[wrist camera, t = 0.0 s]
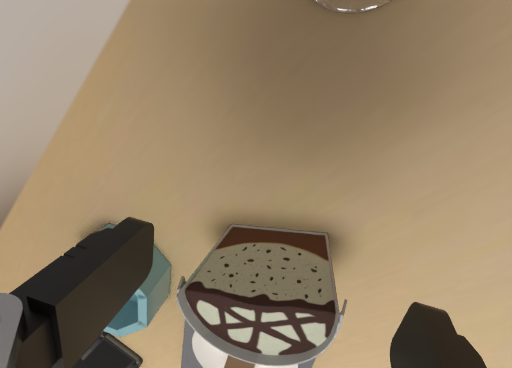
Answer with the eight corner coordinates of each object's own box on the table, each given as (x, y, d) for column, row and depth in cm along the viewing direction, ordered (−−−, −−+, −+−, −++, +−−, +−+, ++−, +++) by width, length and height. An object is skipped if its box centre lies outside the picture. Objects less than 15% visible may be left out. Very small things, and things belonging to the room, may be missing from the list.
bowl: (83, 215, 34) (46, 240, 30) (172, 242, 33) (146, 273, 28) (91, 285, 39) (61, 315, 35) (168, 311, 38) (146, 346, 33)
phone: (142, 364, 43) (102, 397, 50) (146, 357, 44) (106, 390, 51) (98, 331, 42) (63, 369, 49) (103, 325, 43) (69, 362, 50)
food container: (222, 270, 33) (181, 353, 24) (217, 222, 30) (169, 295, 21) (339, 286, 30) (340, 387, 21) (344, 234, 27) (348, 324, 19)
